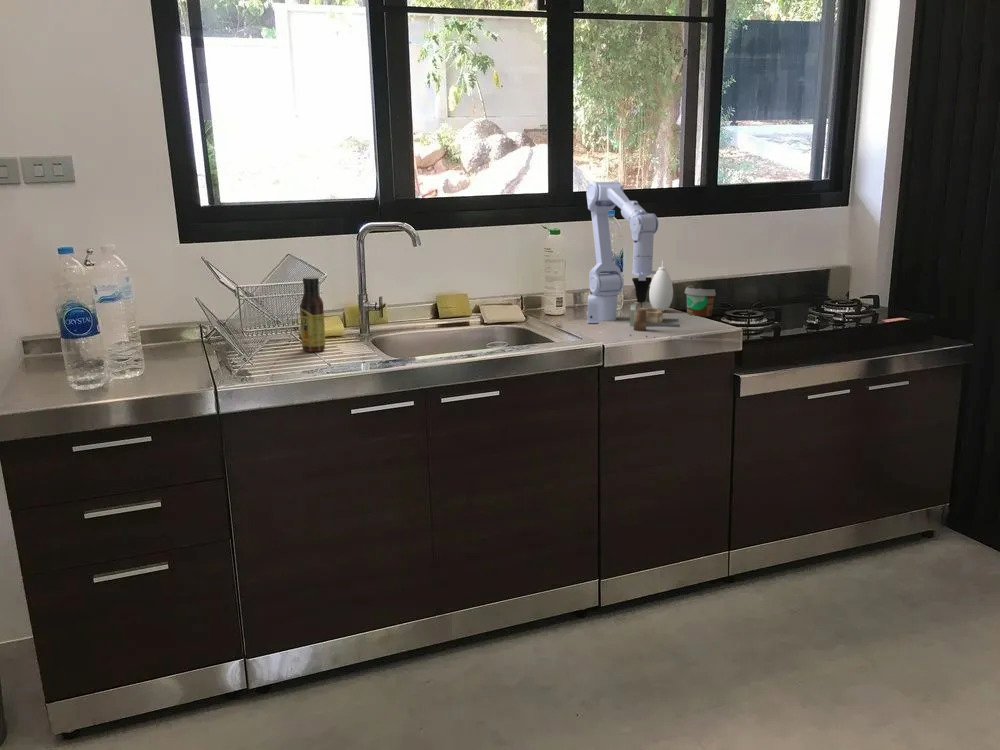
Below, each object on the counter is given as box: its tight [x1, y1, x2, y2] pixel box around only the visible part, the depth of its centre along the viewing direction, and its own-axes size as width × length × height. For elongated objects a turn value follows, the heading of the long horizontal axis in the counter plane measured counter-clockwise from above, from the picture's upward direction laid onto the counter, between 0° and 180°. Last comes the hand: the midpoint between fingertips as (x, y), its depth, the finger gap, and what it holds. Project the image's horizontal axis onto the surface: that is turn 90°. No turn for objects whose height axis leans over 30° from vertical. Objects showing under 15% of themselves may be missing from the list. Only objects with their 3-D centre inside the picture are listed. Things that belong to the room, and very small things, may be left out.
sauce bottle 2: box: [648, 259, 674, 310], centre depth 284 cm, size 8×8×18 cm
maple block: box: [635, 307, 664, 324], centre depth 258 cm, size 8×8×4 cm
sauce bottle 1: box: [299, 276, 326, 353], centre depth 222 cm, size 6×6×20 cm
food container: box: [684, 284, 717, 317], centre depth 274 cm, size 12×6×10 cm, turn 25°
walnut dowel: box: [633, 309, 647, 332], centre depth 247 cm, size 4×4×7 cm
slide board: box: [629, 303, 680, 328], centre depth 258 cm, size 15×12×6 cm
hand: (641, 302), depth 246 cm, fingers closed
